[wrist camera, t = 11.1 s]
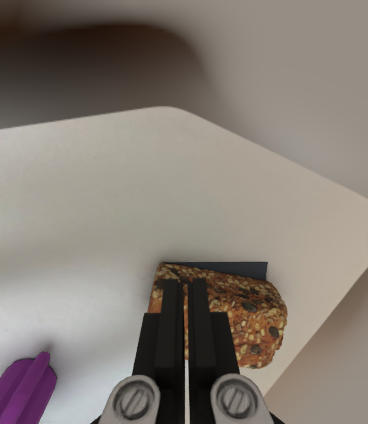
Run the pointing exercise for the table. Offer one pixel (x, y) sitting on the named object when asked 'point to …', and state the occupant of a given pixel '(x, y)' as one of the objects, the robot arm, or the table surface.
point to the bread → (233, 310)
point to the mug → (26, 390)
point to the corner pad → (231, 268)
